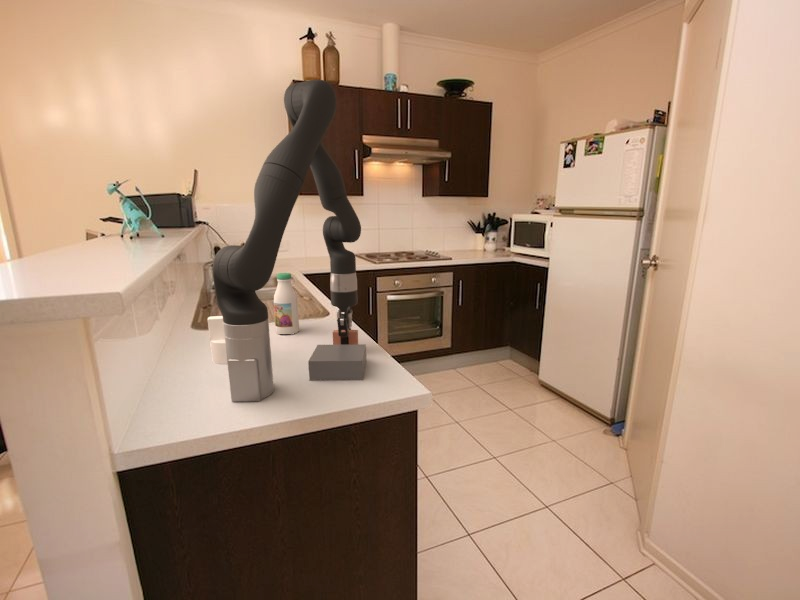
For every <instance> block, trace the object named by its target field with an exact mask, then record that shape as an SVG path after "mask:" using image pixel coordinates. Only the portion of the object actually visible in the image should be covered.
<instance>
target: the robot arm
mask: <svg viewBox="0 0 800 600" xmlns="http://www.w3.org/2000/svg"><path fill="white" fill-rule="evenodd" d="M284 91H285V92H284V96H283V103H284V104H283V105H284V109H285V111H286V114H287V118H288V120H289V123H290V125H291V128H292V129H291V130H290V131H289V133H288V134H287V135H286V136H285V137H284V138H283V139H282V140H281V141H280V142H279V143H277V145H276V146H275V147H273V149H272V150H271V151H270V153H269V154H268V155H267V157H266V158H265V159H264V162H263V163H262V166H261V169H260V171H259V173H258V176H257V178H256V180H255V183H254V191H253V197H254V198H253V199H254V214H255V215H254V220H253V224H252V227H251V229H250V232H249V235H248V237H247V238H246V240H245V242H244V244H243V245H238V244H237V245H235V244H234V245H233V244H232V245H227V246H226V245H225V246H223V247H222V248H220V249H219V250H218V251H216V253H215V255H214V258H213V262H212V279H213V285H214V290H215V298H216V303H217V307H218V310H219V312H220V313H221V316H223V323H224V333H225V343H226V353H227V362H228V364H227V371H228V379H229V390H230V399H231V402H261V401H262V400H263V399H264V398H267V397H268V396H270V395H271V394H272V393H274V390H275V388H274V387H275V386H274V385H275V384H274V374H273V362H272V360H273V359H272V350H271V349H272V348H271V337H270V322H269V321H270V320H269V310H268V306H267V305H266V304H265V302H263V301H262V300H261V299H260V298H259V297H258V294H257V293H256V291H260V290H261V289H262V288H264V287H265V286H266V285H267V284H268V283H269V281H270V279H271V277H272V274H273V271H274V268H275V264H276V261H277V258H278V253H279V250H280V247H281V243H282V239H283V236H284V233H285V231H286V227H287V226H288V223H289V220H290V218H291V215H292V211H293V209H294V206H296V202H297V200H298V197H299V195H300V192H301V190H302V188H303V185H304V182H305V180H306V176H307V173H308V172H309V169H310V170H311V173H312V175H313V179H314V181H315V186H316V189H317V193H318V196H319V199H320V200H319V201H320V204H321V206H322V208H323V209H324V210H326V211H328V212H332V213H333V214H334V215H331V216H328V217H327V218H326V219H325V220H324V221H323V222H324V223H323V225H322V236H323V239H324V243H325V246H326V250H327V253H328V256H329V263H330V279H329V280H330V281H329V282H330V283H329V286H330V304H331V306H333V307H335V308H336V307H337V308H339V309H338V311H337V312H336V317H337V319H336V321H337V330H338V332H339V333H338V335H339V336H340V337H341V345H349V330H352V326H353V324H352V323H353V309H352V307H355V306H356V305H357V304H358V301H359V300H358V299H359V298H358V278H357V267H356V266H357V261H356V254H355V253H354V252H353V251H351V250H349V249H346V247H345V245H344V243H350V244H351V243H355V242H357V241H358V240H359V238H360V237H361V234H362V225H361V221H360V219H359V217H358V215H357V213H356V211H355V210H354V206H353V205H352V203H351V201H350V200H349V198H348V194H347V191H346V186H345V182H344V178H343V176H342V173H341V170H340V169H339V167H338V165H337V163H336V162H335V161H334V159H333V158H332V157H331V155H330V154H329V153H328V151H327V149H326V147H324V144H323V143H322V140H323V139H324V136H325V134H326V133H327V130H328V129H329V127H330V125H331V124H332V121H333V120H334V117H335V115H336V111H337V105H338V104H337V102H338V101H337V95H336V91H335V89H334V87H333V86H332V84H331V83H330V82H328V81H326V80H323V79H312V80H311V79H310V80H305V81H301V82H296V83H292V84H290V85H289V86H288V87H287V88H286V89H285V90H284ZM342 330H345V331H346V332H342Z"/></svg>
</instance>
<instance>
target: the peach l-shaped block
mask: <svg viewBox="0 0 800 600" xmlns="http://www.w3.org/2000/svg"><path fill="white" fill-rule="evenodd" d="M342 332H346V331H345V330H342ZM338 333H339V332H338V329H334V330H333V331H332V345H341V337H340V336H339V335H338ZM352 344H359V330H358V329H351V330H349V345H352Z"/></svg>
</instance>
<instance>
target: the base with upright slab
mask: <svg viewBox="0 0 800 600" xmlns="http://www.w3.org/2000/svg"><path fill="white" fill-rule="evenodd" d="M207 325H208V326H207V327H208V328H207V329H208V334H209V335H208V336H209V342H210V343H209V345H210V351H211V352H210V354H211V360H212V363H214V364H216V365H228V362H227V353H226V343H225V333H224V323H223V316H222V315H215V316H214V315H213V316H208V317H207Z"/></svg>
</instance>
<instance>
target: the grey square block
mask: <svg viewBox="0 0 800 600" xmlns="http://www.w3.org/2000/svg"><path fill="white" fill-rule="evenodd" d="M307 362H308V363H307V364H308V376H309V378H308V380H309V381H363V380H364V375H365V371H366V366H367V344H362V343H361V344H360V343H358V344H352V345H333V344H317V345H316V347H315V349H314V350H313V352H312V353H311V356H310V357H309V359H308V361H307Z"/></svg>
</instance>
